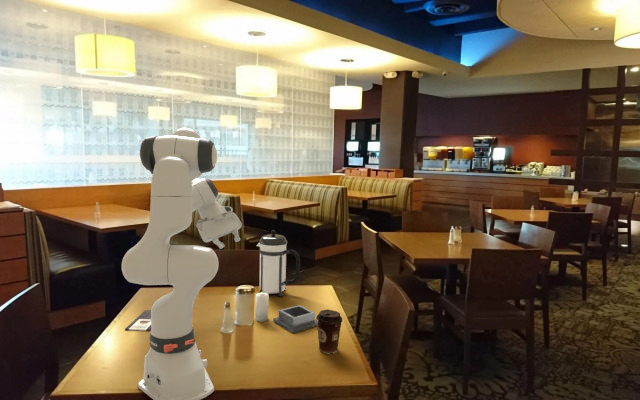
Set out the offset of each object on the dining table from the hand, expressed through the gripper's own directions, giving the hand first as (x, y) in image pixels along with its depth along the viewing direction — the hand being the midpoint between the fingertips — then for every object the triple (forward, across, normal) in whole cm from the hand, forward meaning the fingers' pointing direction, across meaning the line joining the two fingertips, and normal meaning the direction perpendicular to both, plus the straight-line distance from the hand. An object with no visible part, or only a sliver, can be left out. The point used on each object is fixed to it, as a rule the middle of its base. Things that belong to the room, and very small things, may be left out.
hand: (230, 244), depth 169 cm
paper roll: (+32, -2, +4) cm, 32 cm away
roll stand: (+40, +2, -6) cm, 41 cm away
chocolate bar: (+9, -27, +32) cm, 43 cm away
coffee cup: (+52, -11, -24) cm, 58 cm away
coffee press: (+27, +26, +17) cm, 41 cm away
